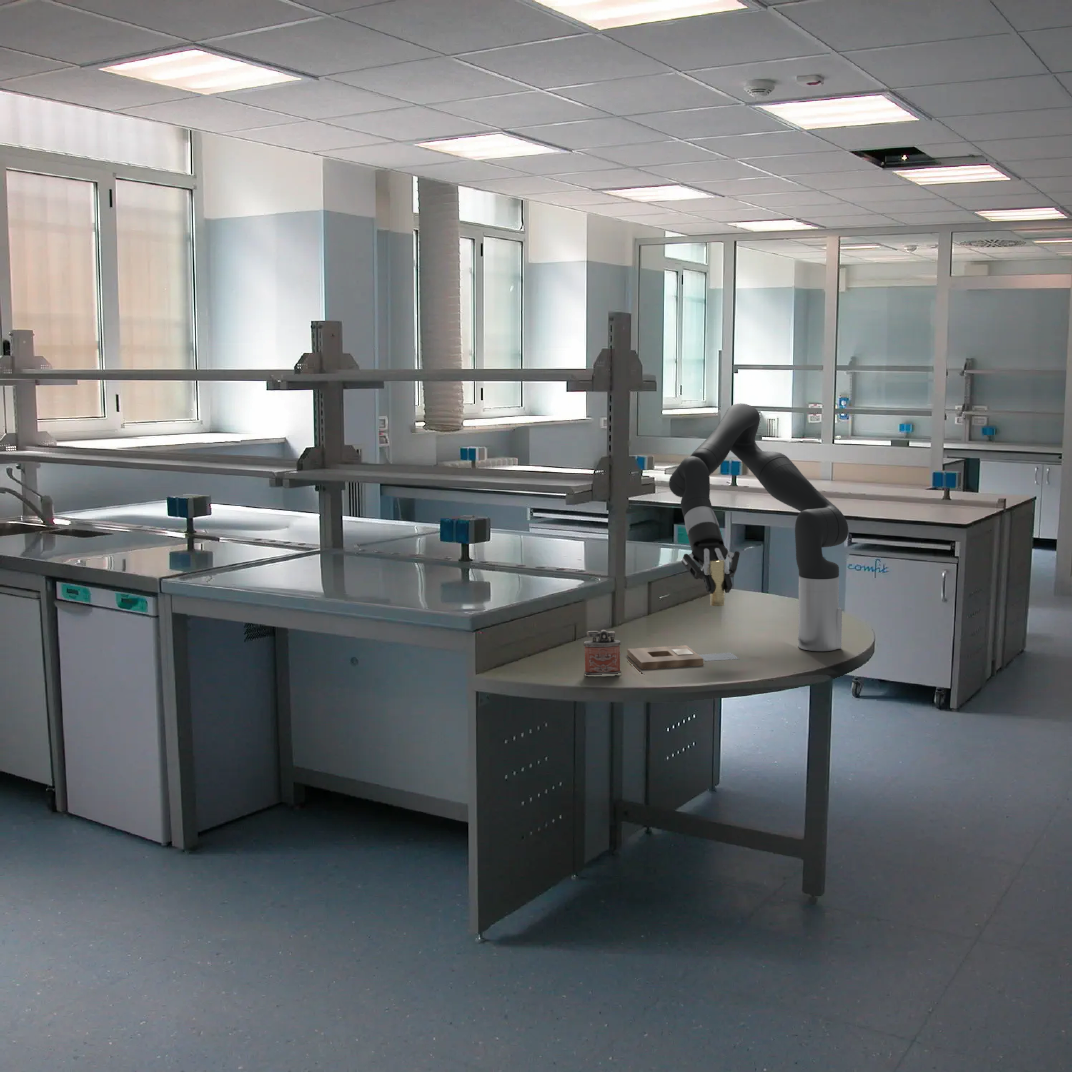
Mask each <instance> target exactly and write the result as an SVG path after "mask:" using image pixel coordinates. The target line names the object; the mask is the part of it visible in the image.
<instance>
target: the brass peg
mask: <svg viewBox="0 0 1072 1072" xmlns="http://www.w3.org/2000/svg"><path fill="white" fill-rule="evenodd" d="M709 575H711V577H712V581H713V584H714V592H713V594H709V601H710V602H709V605H710V606H711V607H723V606H725V604H726V603H725V600H726V598H725V597H726V596H725V595H726V593H725V580H724V560H711V561H710V568H709Z"/></svg>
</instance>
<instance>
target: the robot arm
mask: <svg viewBox="0 0 1072 1072" xmlns="http://www.w3.org/2000/svg"><path fill="white" fill-rule="evenodd" d="M760 421H761V415H760V412H759V410H758V409H756V407H754V406H752V405H750V404H747V403H740V402H739V403H735V404H732V405H730V406H729V407H728V408H727V409H726V412H725V413H724V415H723V417H722V418H721V420H720V422H719V423H718V424H717V425H716V427H715V428H714V430H713V431H711V433H710V435H709V436H708V437H707V438H706V439H705V440H704V441H703V442H702V443H701V444H700V445H699V446H698V447H697V448H696V449H695V450H694V451H693V452H692V453H691V454H690V456H687V457H685V458H684V459H683V460H681V462H680V464H678V466H677V467H676V468H675V470H674V471H673V472H672V474H671V475H670V476H669V477H670V478H669V480H668V487H669V489H670V492H671V493H672V494H673V495H675V496H676V497H678V498H681V499H680V507H681V508H680V509H681V512H682V516H683V519H684V525H685V531H686V535H687V539H688V542H689V546H690V549H691V553H684V554H683V557H682V560H681V564H683V567H685V568H686V570H687V571H688V572H689V574H690V575H691V576H692V577H693V579H694V580H700V579H701V580H702V581H703V584H704V588H705V591H706V592H707V593H708V594H709V595H710V594H713V592H714V584H713V581H712V577H711V575H710V561H711V560H724V580H725V594H730V591H732V588H733V582H732V579H731V578H734V577H735V575H736V571H737V569H738V564H739V559H740V554H741V553H740V551H739V550H735V551H734V552H732V551H728V550H729V549H728V548H726V546H725V543H724V539H723V534H722V532H721V529H720V524H719V521H718V519H717V516H716V513H715V512H714V508H713V505H712V502H711V499H710V496H711V484H710V483H711V481H710V480H711V479H710V476H711V475H712V474H713V473H714V472H716V470H717V469H718V468H719V467H720V466H721V465H722V463H724V461H725V460H726V458H727V457H728V455H729V453H730V452H731V453H732V454H733V455H734V456H736V457H737V458H738V459H739V460H740V461H741V462H742V463H743V465H745V466H746V468H747V469H749V471H750V472H751V473H752V474H753V476H754V477H755V478H756V479H757V480H758V482H759V483H760V484H761V485H762V486H763V488H764V489H765V491H767V493H768V494H769V495H770V496H771V497H772V498H774V499H775V500H777V501H779V502H781V503H783V504H785V505H786V506H789V507H791V508H793V509H795V510H797V511H799V512H798V515H797V517H796V520H795V525H794V536H795V537H794V538H795V540H794V543H795V560H796V565H797V568H798V569H797V570H798V626H797V627H798V628H797V629H798V632H797V633H798V634H797V640H798V641H797V642H798V643H797V644H798V647H799V649H802V650H805V651H810V652H811V651H812V652H829V651H830V652H831V651H835V650H839V649H843V648H842V647H843V646H842V645H843V642H842V638H843V637H842V632H843V631H842V630H843V629H842V627H843V623H842V622H843V609H842V608H841V607H839V601H840V600H839V598H840V597H839V595H840V589H839V587H840V567H839V564H837V563H835V562H834V561H829V560H827V559H826V558H825V557H824V556H823V549H822V548H829V547H836V546H839V545H841V544H843V543H845V541H846V540H847V539H848V536H849V526H848V521H847V519H846V517H845V516H844V514H843V513H842V511H841V510H840V509H839V508H838V507H837V506H836V505H835V504H833V502H832V501H830V500H829V499H827V498H826V497H825V496H824V495H823V494H822V493H821V492H820V491H819V490H818V489H817V488H816V487H815V486H814V485H813V484H812V483H811V482H810V481H809V480H808V479H807V478H806V476H805V475H803V473H802V472H801V471H800V470H799V468H798V467H797V466H796V465H795V463H794V462H793V461H792V460H791V459H790V458H789V457H788V456H787V455H785V454H784V453H782V452H777V451H768V450H767V451H766V450H765V451H763V450H762V449H761V448H760V447H759V445H758V444H757V443H756V436H757V433H758V430H759V425H760ZM727 558H728V561H729V563H730V568H728V566H727V562H726V559H727ZM697 563H698V564H699V565H700V567H699V566H698V565H697Z"/></svg>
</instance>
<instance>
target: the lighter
mask: <svg viewBox="0 0 1072 1072" xmlns="http://www.w3.org/2000/svg"><path fill="white" fill-rule="evenodd" d="M615 637H616V632H615V631H614V630H612V631H607V630H606V629H601V630H600V631H598V630H589V631H586V638H591V639H592V640H585V641H584V642H583V646H584V674H586V675H602V674H618V673H621V674H622V669H621V657H620V656H621V650H620V649H621V640H619V639H615ZM584 674H583V675H584Z"/></svg>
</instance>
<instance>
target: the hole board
mask: <svg viewBox="0 0 1072 1072" xmlns="http://www.w3.org/2000/svg"><path fill="white" fill-rule="evenodd" d="M626 651H627V653H626V654H627V657H628V658H627V660H628V661H629V662H630V663H631V664H633V666H634V667H635V668H636V669H637V670H638V671H639V672H641V674H644V673H643V672H642V671H641V670H650V669H651V670H652V669H666V668H668V669H669V668H685V667H699V666H704V660H703V658H702V657H701V656H699V655H700V654H698V653H697V652H695V651H694V650H693V649H692V648H690V647H689V646H688V645H686V644H685V645H683V644H682V645H669V646H655V647H654V646H652V647H638V648H637V647H636V648H627V649H626ZM628 661H627V662H628ZM637 666H638V667H637Z"/></svg>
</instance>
